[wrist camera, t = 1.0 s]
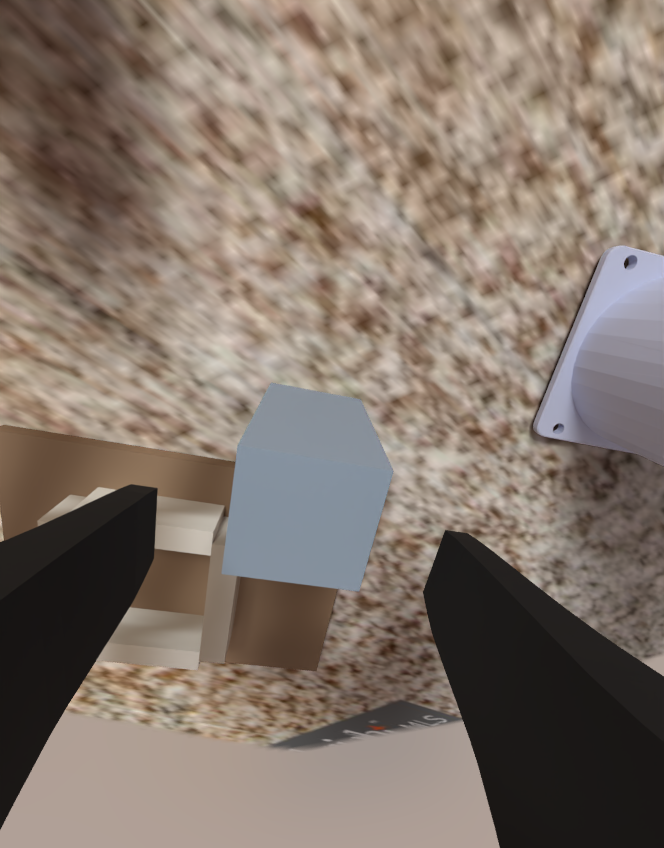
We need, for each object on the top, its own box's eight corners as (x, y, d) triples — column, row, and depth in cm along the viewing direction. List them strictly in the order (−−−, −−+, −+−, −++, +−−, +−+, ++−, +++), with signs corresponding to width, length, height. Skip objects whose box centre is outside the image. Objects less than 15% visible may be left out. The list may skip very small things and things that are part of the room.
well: (362, 482, 17) (370, 512, 15) (316, 661, 21) (316, 709, 18) (3, 424, 15) (-56, 448, 13) (24, 631, 19) (-19, 680, 17)
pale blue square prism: (360, 399, 16) (393, 471, 9) (341, 478, 17) (359, 591, 10) (270, 382, 15) (237, 445, 9) (258, 465, 17) (221, 573, 10)
